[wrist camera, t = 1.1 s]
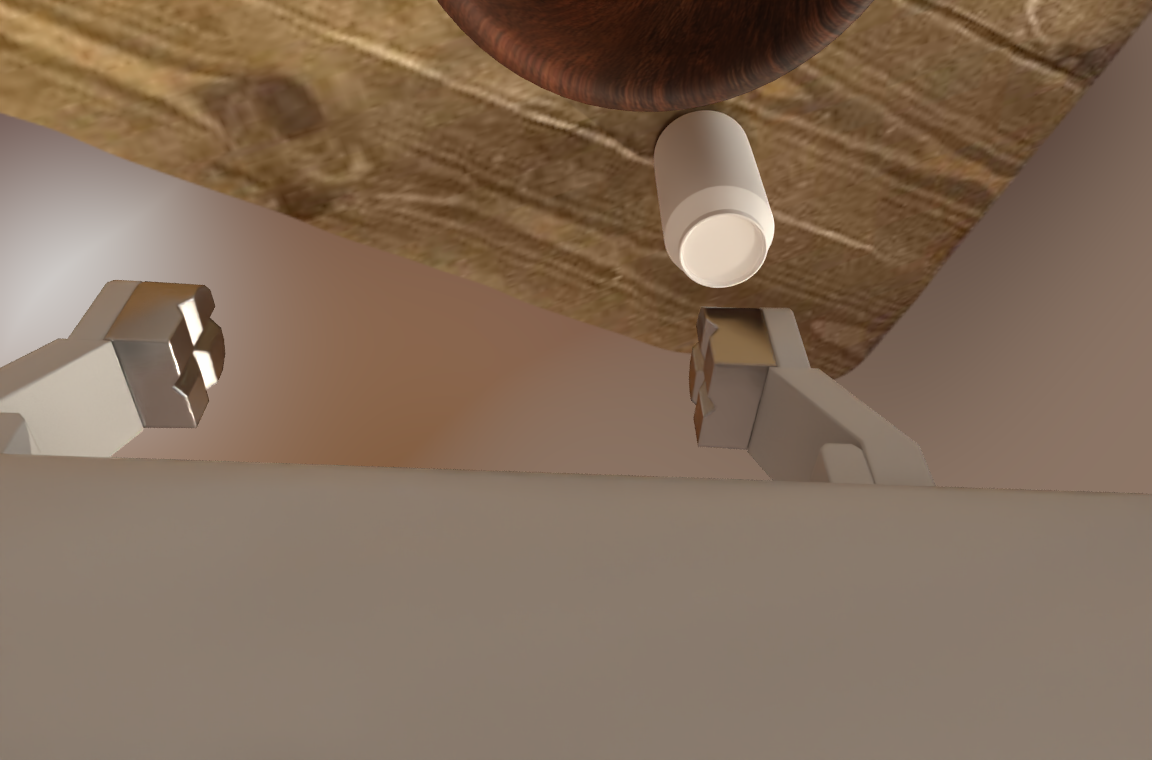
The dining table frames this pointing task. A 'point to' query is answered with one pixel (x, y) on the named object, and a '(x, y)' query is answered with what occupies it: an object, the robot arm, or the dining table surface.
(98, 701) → the robot arm
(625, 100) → the wooden bowl
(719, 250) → the beverage can
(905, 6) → the dining table surface
